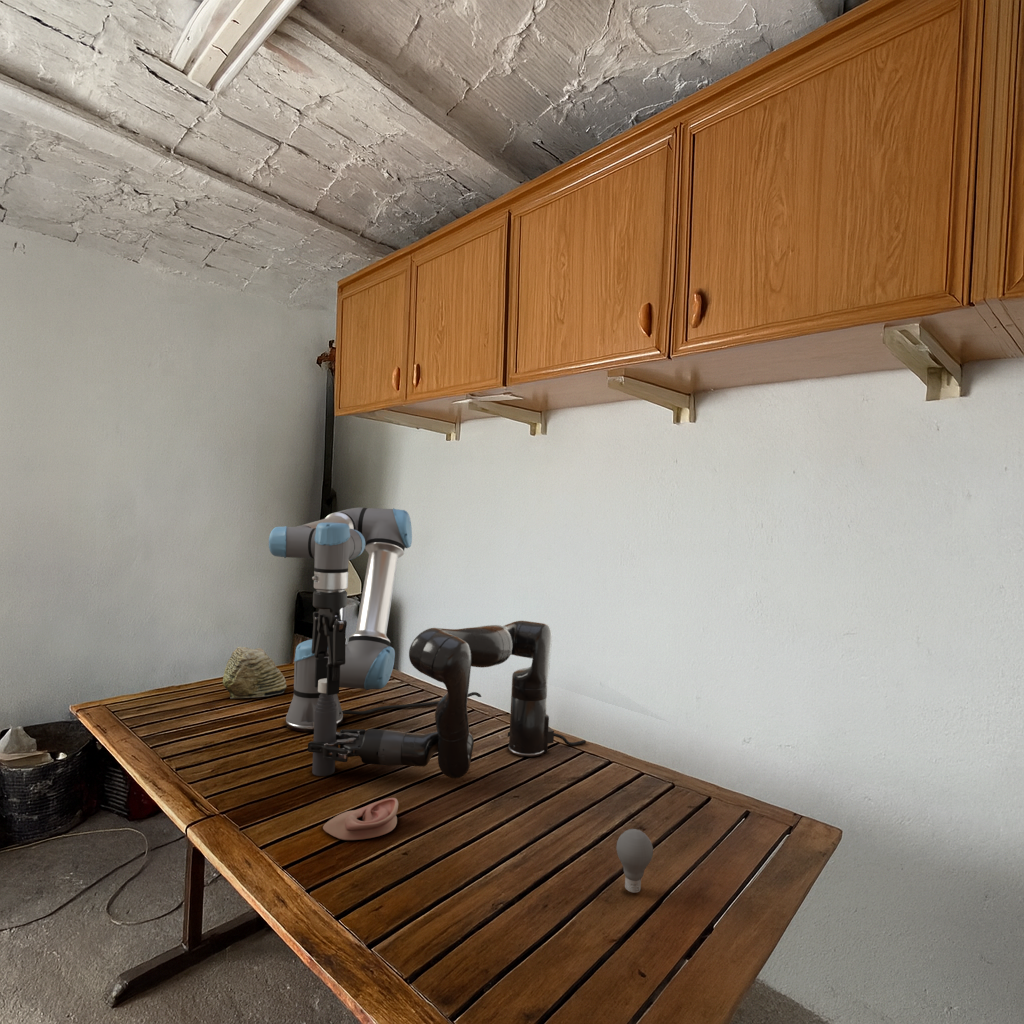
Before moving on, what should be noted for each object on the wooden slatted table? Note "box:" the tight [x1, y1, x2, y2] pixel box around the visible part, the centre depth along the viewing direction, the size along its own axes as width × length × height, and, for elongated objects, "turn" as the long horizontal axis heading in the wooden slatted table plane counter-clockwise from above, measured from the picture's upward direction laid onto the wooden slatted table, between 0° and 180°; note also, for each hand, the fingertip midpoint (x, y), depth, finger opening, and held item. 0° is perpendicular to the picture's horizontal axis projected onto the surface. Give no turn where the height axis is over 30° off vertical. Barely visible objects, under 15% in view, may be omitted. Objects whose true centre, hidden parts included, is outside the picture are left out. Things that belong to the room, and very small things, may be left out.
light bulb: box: [615, 828, 654, 894], centre depth 106 cm, size 6×6×10 cm
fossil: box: [222, 646, 288, 699], centre depth 198 cm, size 9×18×15 cm, turn 132°
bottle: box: [311, 693, 338, 777], centre depth 146 cm, size 5×5×21 cm
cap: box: [318, 678, 327, 693], centre depth 146 cm, size 4×4×2 cm
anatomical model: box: [322, 797, 399, 841], centre depth 122 cm, size 13×4×12 cm
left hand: (326, 689), depth 146 cm, fingers open, 6 cm apart
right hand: (313, 741), depth 146 cm, fingers closed on bottle, 5 cm apart
